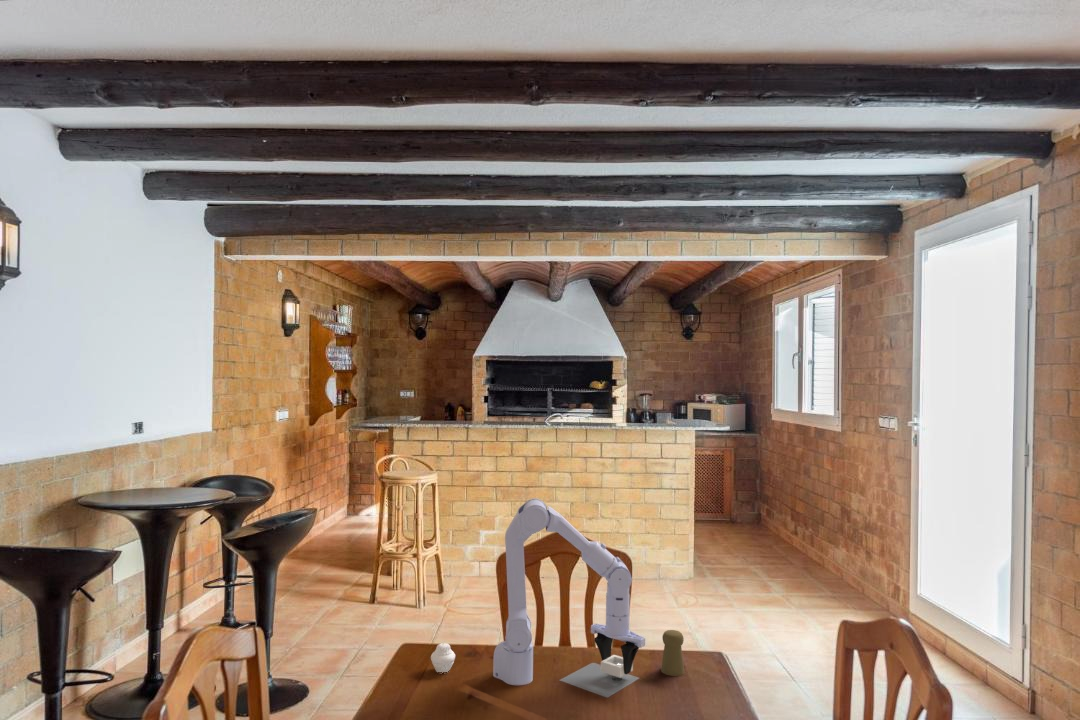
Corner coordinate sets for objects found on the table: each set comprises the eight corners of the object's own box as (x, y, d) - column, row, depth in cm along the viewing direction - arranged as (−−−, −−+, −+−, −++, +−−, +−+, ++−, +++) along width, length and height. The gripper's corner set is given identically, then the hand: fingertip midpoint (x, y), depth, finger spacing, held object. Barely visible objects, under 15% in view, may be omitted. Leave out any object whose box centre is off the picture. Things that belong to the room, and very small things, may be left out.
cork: (684, 682, 173) (685, 636, 173) (659, 679, 174) (660, 634, 174) (684, 672, 179) (685, 628, 179) (660, 669, 180) (661, 626, 180)
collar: (600, 671, 171) (600, 661, 171) (613, 664, 175) (613, 654, 175) (620, 677, 168) (620, 667, 168) (632, 670, 172) (633, 660, 172)
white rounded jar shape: (449, 664, 182) (450, 636, 182) (459, 673, 176) (459, 644, 176) (426, 668, 178) (427, 641, 179) (435, 678, 173) (436, 649, 173)
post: (609, 678, 171) (609, 663, 171) (615, 675, 173) (615, 660, 173) (618, 681, 170) (618, 666, 170) (624, 678, 172) (624, 663, 172)
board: (559, 685, 170) (559, 680, 170) (592, 667, 181) (592, 662, 181) (607, 702, 161) (607, 697, 161) (639, 682, 172) (639, 677, 172)
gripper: (652, 615, 170) (651, 672, 170) (602, 602, 179) (601, 656, 179) (636, 623, 165) (635, 682, 164) (586, 609, 174) (585, 665, 174)
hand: (617, 669), depth 171 cm, fingers closed on collar, 5 cm apart
